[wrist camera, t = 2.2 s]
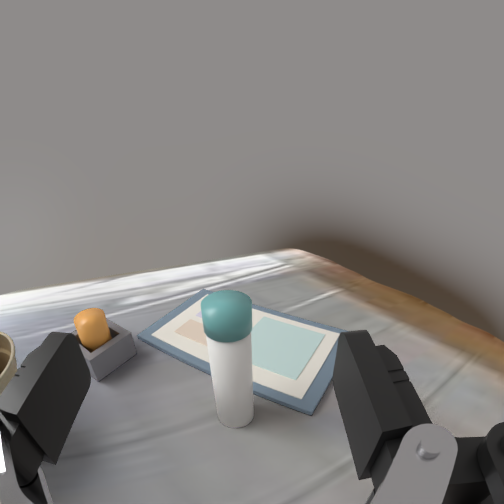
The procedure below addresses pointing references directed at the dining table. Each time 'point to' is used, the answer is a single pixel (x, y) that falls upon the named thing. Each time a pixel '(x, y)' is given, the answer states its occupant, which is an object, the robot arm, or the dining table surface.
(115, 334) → the button housing
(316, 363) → the placemat
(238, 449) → the dining table surface
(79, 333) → the button
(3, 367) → the flower pot
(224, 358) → the marker
